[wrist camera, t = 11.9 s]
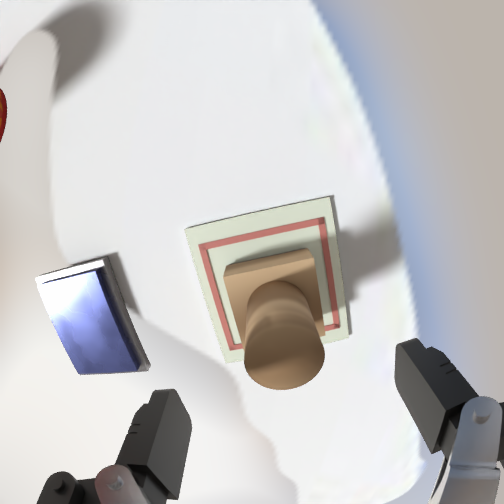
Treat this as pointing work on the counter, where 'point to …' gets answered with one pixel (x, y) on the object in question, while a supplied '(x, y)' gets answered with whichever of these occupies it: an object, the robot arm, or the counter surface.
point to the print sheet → (265, 244)
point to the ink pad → (92, 319)
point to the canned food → (2, 113)
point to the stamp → (278, 317)
